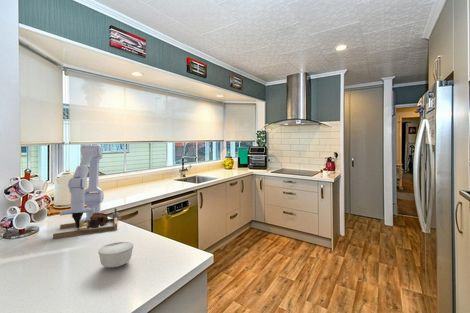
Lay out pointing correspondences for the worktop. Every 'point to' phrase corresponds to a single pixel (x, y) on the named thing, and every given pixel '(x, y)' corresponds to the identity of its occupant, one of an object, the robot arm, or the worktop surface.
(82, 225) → the beige wooden block
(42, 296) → the worktop surface
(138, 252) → the worktop surface
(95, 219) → the pottery mug
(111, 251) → the ramekin
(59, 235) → the wooden frame
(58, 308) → the worktop surface
